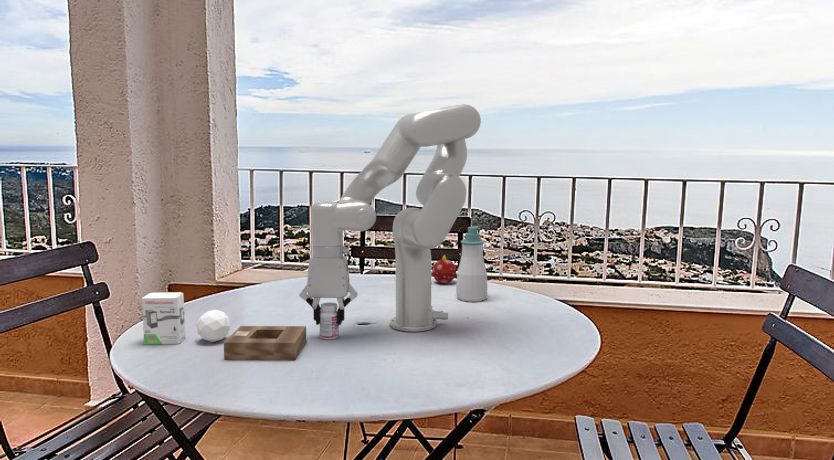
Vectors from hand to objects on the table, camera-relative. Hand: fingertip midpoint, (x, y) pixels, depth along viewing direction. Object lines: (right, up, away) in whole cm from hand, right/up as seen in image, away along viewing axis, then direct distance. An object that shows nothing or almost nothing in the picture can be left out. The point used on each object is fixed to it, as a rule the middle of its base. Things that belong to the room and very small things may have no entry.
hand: (329, 322), depth 141 cm
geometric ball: (-28, -4, -2) cm, 28 cm away
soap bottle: (+40, +1, +38) cm, 55 cm away
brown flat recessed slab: (-13, -5, -9) cm, 17 cm away
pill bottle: (0, -4, +1) cm, 4 cm away
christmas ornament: (+32, +4, +59) cm, 67 cm away
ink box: (-40, -4, -3) cm, 40 cm away
